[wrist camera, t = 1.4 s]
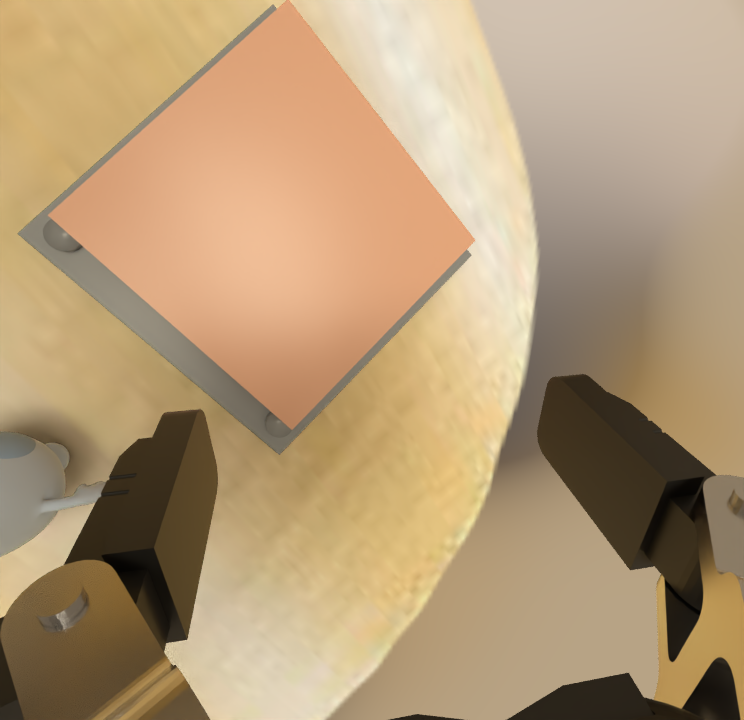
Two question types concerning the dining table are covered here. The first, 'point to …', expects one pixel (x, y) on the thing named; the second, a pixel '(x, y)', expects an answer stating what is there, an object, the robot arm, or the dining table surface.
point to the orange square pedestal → (259, 229)
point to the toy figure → (34, 488)
